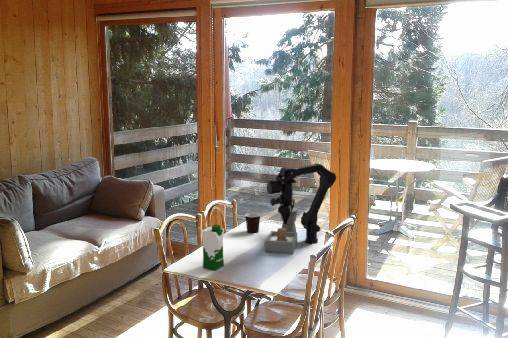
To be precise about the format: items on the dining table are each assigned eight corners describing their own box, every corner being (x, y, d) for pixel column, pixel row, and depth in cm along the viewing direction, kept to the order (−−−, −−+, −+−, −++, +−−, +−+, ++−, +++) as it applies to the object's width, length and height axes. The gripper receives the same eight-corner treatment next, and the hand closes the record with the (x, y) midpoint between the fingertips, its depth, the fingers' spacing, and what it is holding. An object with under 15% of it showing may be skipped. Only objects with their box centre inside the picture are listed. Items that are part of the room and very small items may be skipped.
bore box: (271, 241, 254) (271, 231, 252) (297, 243, 251) (297, 232, 250) (265, 252, 238) (265, 240, 237) (293, 254, 235) (293, 242, 234)
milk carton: (215, 272, 214) (214, 229, 211) (199, 268, 219) (198, 226, 215) (226, 265, 222) (225, 224, 218) (211, 261, 226) (209, 221, 223)
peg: (278, 244, 247) (278, 228, 245) (286, 245, 246) (286, 228, 244) (277, 247, 243) (277, 230, 241) (285, 247, 242) (285, 230, 240)
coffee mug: (246, 229, 275) (246, 212, 273) (261, 229, 274) (261, 213, 272) (243, 235, 264) (243, 218, 262) (258, 236, 263) (258, 218, 261)
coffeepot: (302, 237, 260) (302, 205, 257) (288, 240, 256) (288, 207, 252) (287, 229, 273) (287, 199, 270) (273, 232, 269) (273, 201, 266)
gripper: (274, 187, 253) (274, 215, 256) (267, 195, 235) (268, 225, 238) (295, 188, 251) (295, 216, 254) (290, 196, 233) (290, 227, 236)
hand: (286, 221), depth 245 cm, fingers open, 9 cm apart
